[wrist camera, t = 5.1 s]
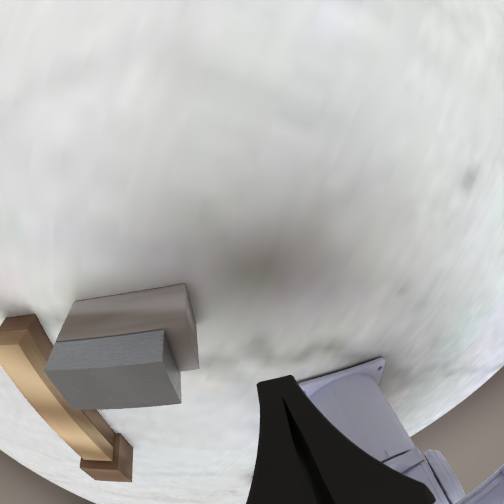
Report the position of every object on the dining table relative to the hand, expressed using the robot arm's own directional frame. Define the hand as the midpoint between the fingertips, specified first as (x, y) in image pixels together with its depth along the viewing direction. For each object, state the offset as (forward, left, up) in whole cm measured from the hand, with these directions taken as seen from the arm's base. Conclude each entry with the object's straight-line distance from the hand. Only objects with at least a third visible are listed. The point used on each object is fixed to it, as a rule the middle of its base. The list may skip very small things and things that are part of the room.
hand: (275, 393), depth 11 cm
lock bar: (0, +7, -4) cm, 8 cm away
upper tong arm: (-6, +15, -6) cm, 17 cm away
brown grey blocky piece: (-7, +10, -7) cm, 15 cm away
